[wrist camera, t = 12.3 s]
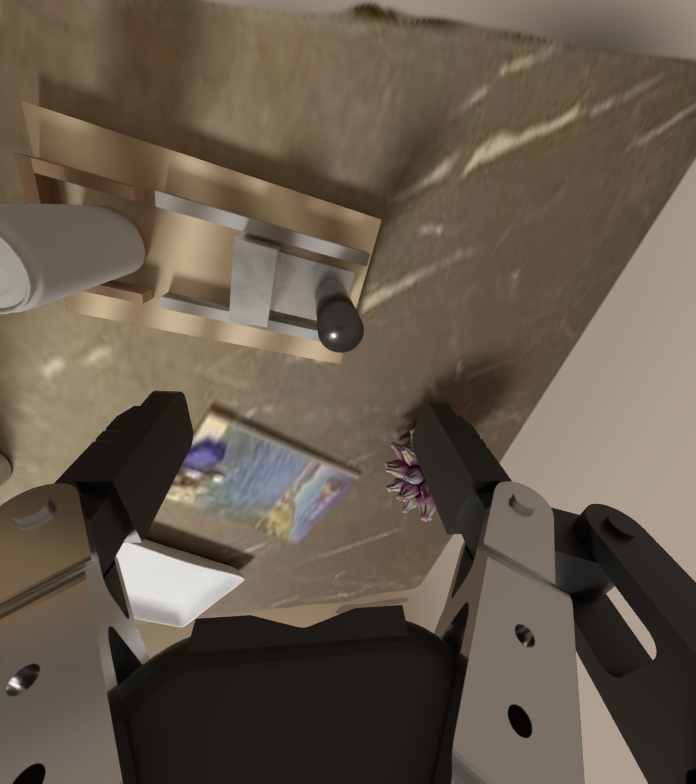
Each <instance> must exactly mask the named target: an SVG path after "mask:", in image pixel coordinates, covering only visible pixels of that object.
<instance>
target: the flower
mask: <svg viewBox="0 0 696 784" xmlns="http://www.w3.org/2000/svg"><path fill="white" fill-rule="evenodd" d="M414 430H415V428H413V429H412V428H411V430H410V433H411V437H410V446H411V447H409V446H407V445H399V444H396V443H394V442H392V443H391V447H392V448H393V449H394V450H395V452H396V454H397V456H398V457H399V458H400V459H401V460H395V461H392V462H385V468H386V472H390V473H392V474H393V475H395V476H396V477H397V478H396V479H395V480H394V481H393V483H392V484H390V485H388V486H387V489H388V492H389V491H400V493H399V494H398V495H397V497H396V499H398V500H399V501H401V500H403V501H404V502H405V504H404V507H403V509H402V512H405V514H406V513H407V512H408V511H409V510H410V509H413V508H415V507H416V506H418V507H419V509H420V512H421V520H423V521H427V520H429V521H430V520H432V515H433V513H434V511H435V510H436V509H437V508H436V505H435V503H434V500H433V498H432V495H431V493H430V490H429V488H428V485H427V483H426V480H425V478H424V475H423V473H422V471H421V468H420V466H419V463H418V461H417V458H416V456H415V453H414V450H413V445H412V438H413V433H414Z"/></svg>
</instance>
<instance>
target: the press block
mask: <svg viewBox="0 0 696 784" xmlns="http://www.w3.org/2000/svg"><path fill="white" fill-rule="evenodd" d="M353 276H354V271H351V270H347V269H344V268H340V267H337V266H333V265H329V264H326V263H322V262H319V261H315V260H311V259H308V258H304V257H301V256H297V255H293V254H290V253H286V252H283V251H281V244H278V243H274V242H270V241H267V240H263V239H260V238H256V237H253V236H249V235H246V234H244V235H241V236H239V237H236V238H234V249H233V264H232V279H231V294H230V310H229V320H233V321H238V322H243V323H247V324H252V325H257V326H262V327H266V328H267V326H268V323H269V320H270V317H271V314H272V311H276V312H281V313H285V314H289V315H294V316H298V317H303V318H307V319H311V320H316V321H317V327H318V336H319V339H320V341H321V343H322V344H323V346H324V347H326V348H327V349H328V350H330V351H333V352H337V353H343V352H348V351H350V350H352V349H354V348H355V347H356V346H357V345H358V344H359V343H360V341H361V339H362V337H363V333H364V327H363V323H362V321H361V319H360V317H359V314H358V312H357V310H356V308H355V306H354V304H353V302H352V300H351V298H350V296H349V291H350V287H351V284H352V280H353Z"/></svg>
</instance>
